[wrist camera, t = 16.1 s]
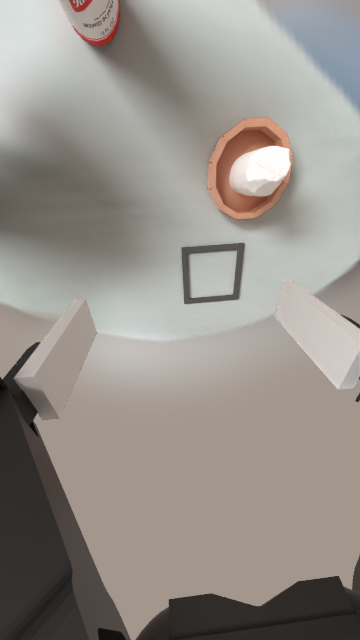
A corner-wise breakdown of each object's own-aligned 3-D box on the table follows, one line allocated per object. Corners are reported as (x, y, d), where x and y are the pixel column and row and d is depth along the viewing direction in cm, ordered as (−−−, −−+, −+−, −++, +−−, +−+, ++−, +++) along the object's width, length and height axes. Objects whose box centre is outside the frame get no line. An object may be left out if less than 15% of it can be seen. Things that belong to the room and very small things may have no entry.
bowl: (206, 219, 38) (209, 221, 35) (207, 125, 31) (211, 120, 29) (274, 214, 38) (282, 216, 36) (290, 121, 31) (301, 115, 29)
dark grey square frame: (184, 302, 47) (184, 303, 46) (181, 247, 40) (181, 248, 40) (237, 298, 47) (237, 299, 47) (243, 243, 41) (243, 243, 40)
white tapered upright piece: (295, 122, 22) (316, 170, 24) (252, 142, 32) (270, 175, 34) (248, 169, 24) (271, 210, 26) (221, 174, 34) (240, 203, 36)
